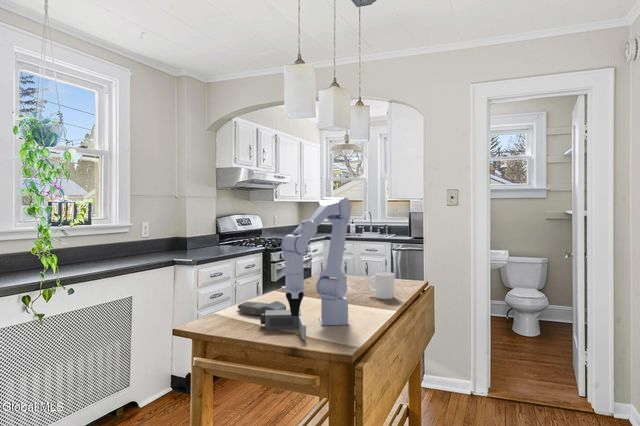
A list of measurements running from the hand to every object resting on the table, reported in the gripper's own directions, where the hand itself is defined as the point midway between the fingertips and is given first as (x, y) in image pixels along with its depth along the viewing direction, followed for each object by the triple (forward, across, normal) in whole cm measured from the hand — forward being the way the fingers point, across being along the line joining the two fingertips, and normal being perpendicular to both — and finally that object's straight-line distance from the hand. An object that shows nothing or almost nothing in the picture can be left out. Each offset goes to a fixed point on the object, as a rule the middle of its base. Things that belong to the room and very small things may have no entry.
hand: (294, 315), depth 137 cm
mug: (+8, -50, +38) cm, 64 cm away
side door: (+7, -3, +2) cm, 8 cm away
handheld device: (+8, -28, -13) cm, 32 cm away
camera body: (+7, -11, -4) cm, 14 cm away
